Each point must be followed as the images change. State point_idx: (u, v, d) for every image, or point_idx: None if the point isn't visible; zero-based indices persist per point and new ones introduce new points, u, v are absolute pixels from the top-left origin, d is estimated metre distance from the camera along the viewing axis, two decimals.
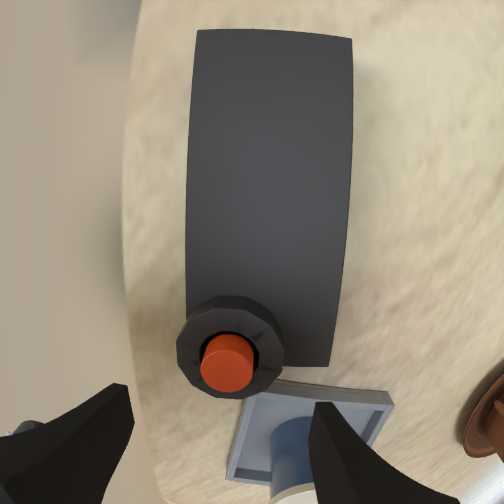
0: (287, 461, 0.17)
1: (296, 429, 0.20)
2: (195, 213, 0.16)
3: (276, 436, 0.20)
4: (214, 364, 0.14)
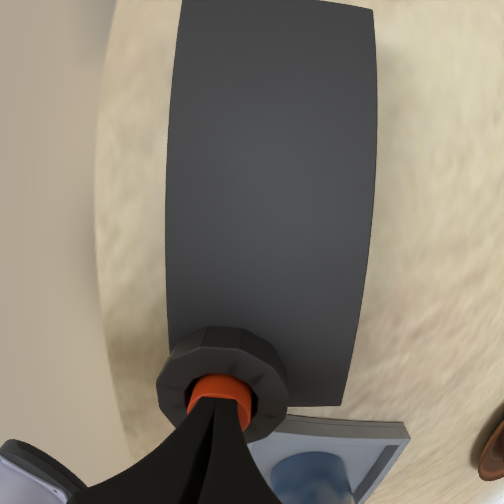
0: None
1: (300, 467, 0.16)
2: (176, 224, 0.12)
3: (277, 473, 0.17)
4: None
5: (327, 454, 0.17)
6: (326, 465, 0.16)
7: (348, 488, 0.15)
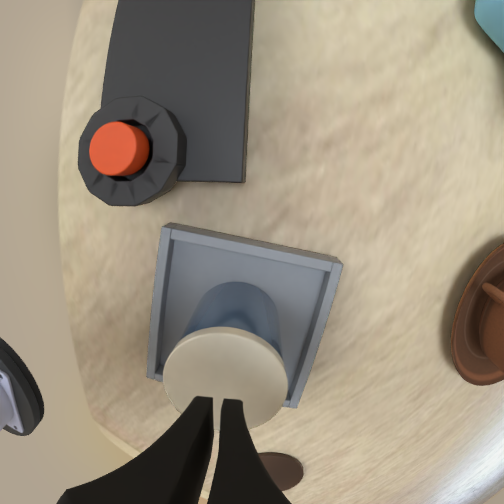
0: (197, 315, 0.15)
1: (219, 290, 0.18)
2: (116, 41, 0.14)
3: (197, 304, 0.19)
4: (101, 139, 0.12)
5: (252, 285, 0.19)
6: (247, 290, 0.18)
7: (271, 315, 0.17)
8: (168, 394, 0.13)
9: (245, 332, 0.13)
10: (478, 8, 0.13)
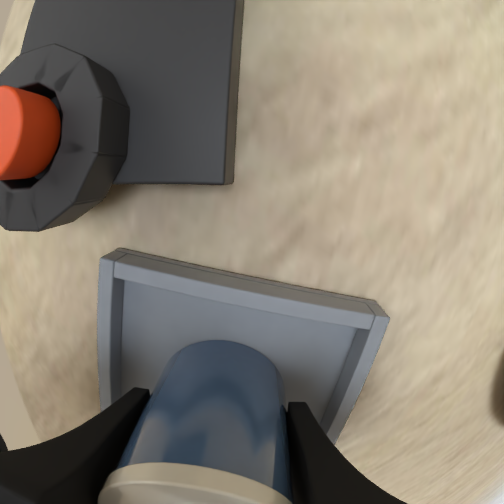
0: (151, 412, 0.08)
1: (191, 358, 0.11)
2: None
3: (161, 373, 0.11)
4: None
5: (245, 346, 0.12)
6: (235, 358, 0.11)
7: (274, 405, 0.09)
8: None
9: (225, 478, 0.06)
10: None
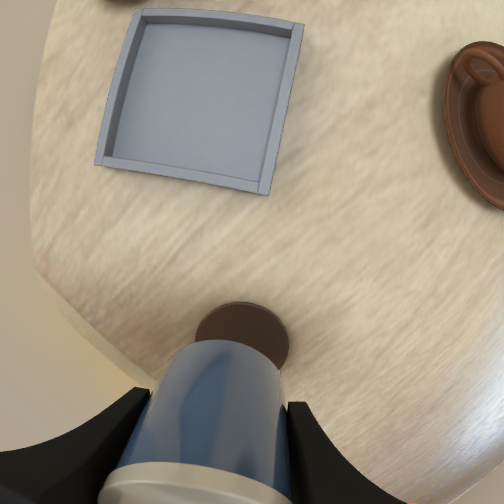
0: (151, 412, 0.08)
1: (191, 357, 0.11)
2: None
3: None
4: None
5: (245, 346, 0.12)
6: (235, 358, 0.11)
7: (274, 405, 0.09)
8: None
9: (225, 477, 0.06)
10: None
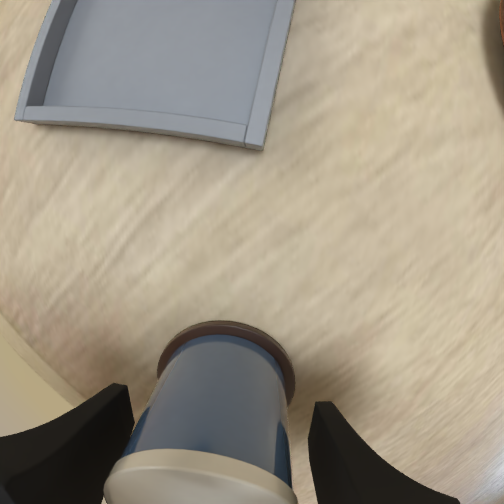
0: (155, 403, 0.09)
1: (194, 351, 0.11)
2: None
3: (165, 367, 0.12)
4: None
5: (246, 340, 0.12)
6: (237, 352, 0.11)
7: (274, 397, 0.10)
8: None
9: (228, 463, 0.06)
10: None
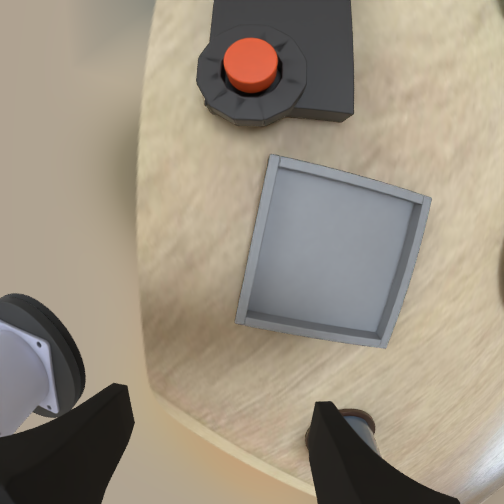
0: None
1: None
2: None
3: None
4: (238, 51, 0.12)
5: (357, 417, 0.22)
6: (357, 425, 0.21)
7: (375, 443, 0.20)
8: None
9: None
10: None
